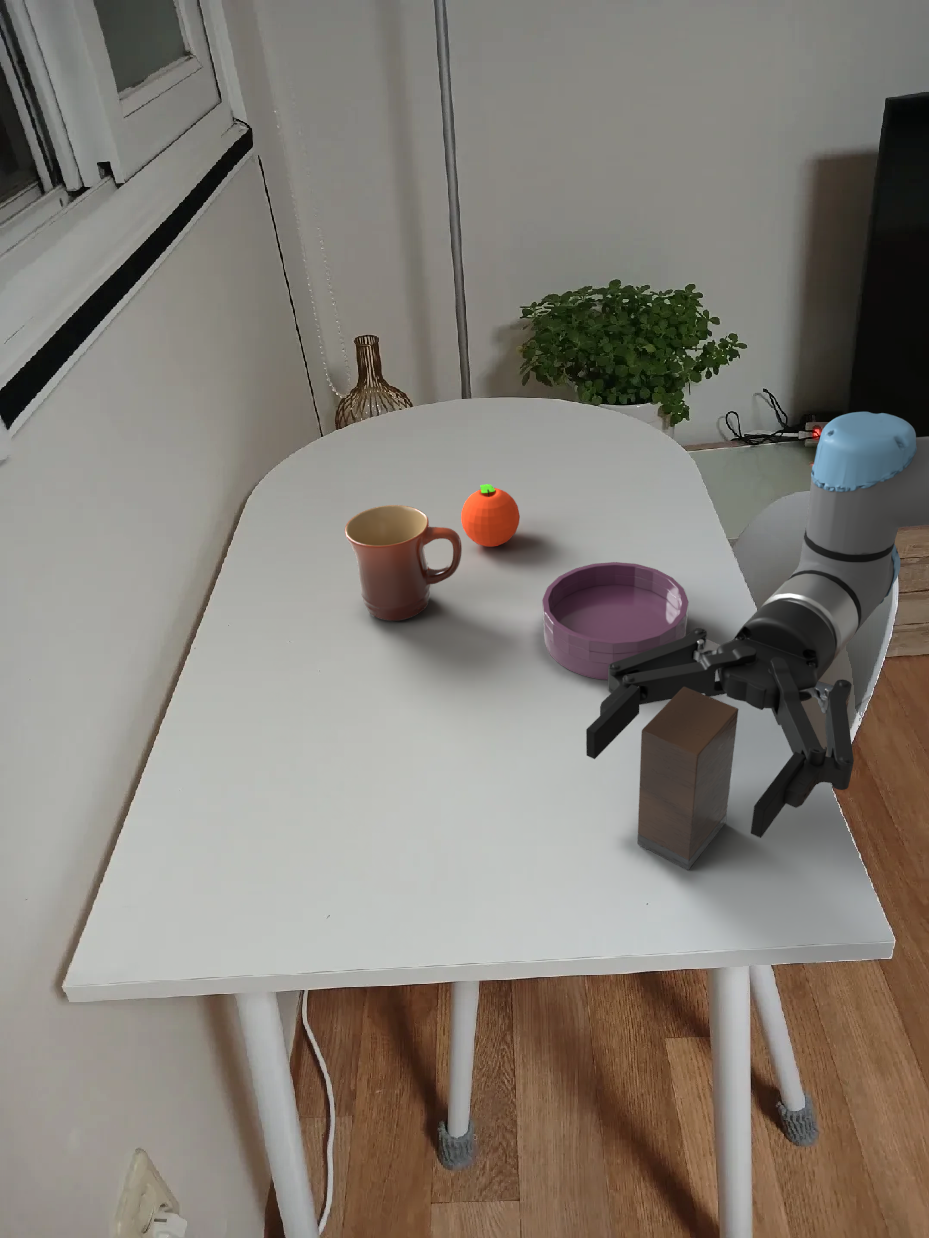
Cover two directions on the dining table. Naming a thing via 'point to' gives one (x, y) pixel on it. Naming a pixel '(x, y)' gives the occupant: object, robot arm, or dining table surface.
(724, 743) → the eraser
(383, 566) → the mug
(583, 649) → the bowl
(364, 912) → the dining table surface
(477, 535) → the clementine
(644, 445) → the dining table surface
